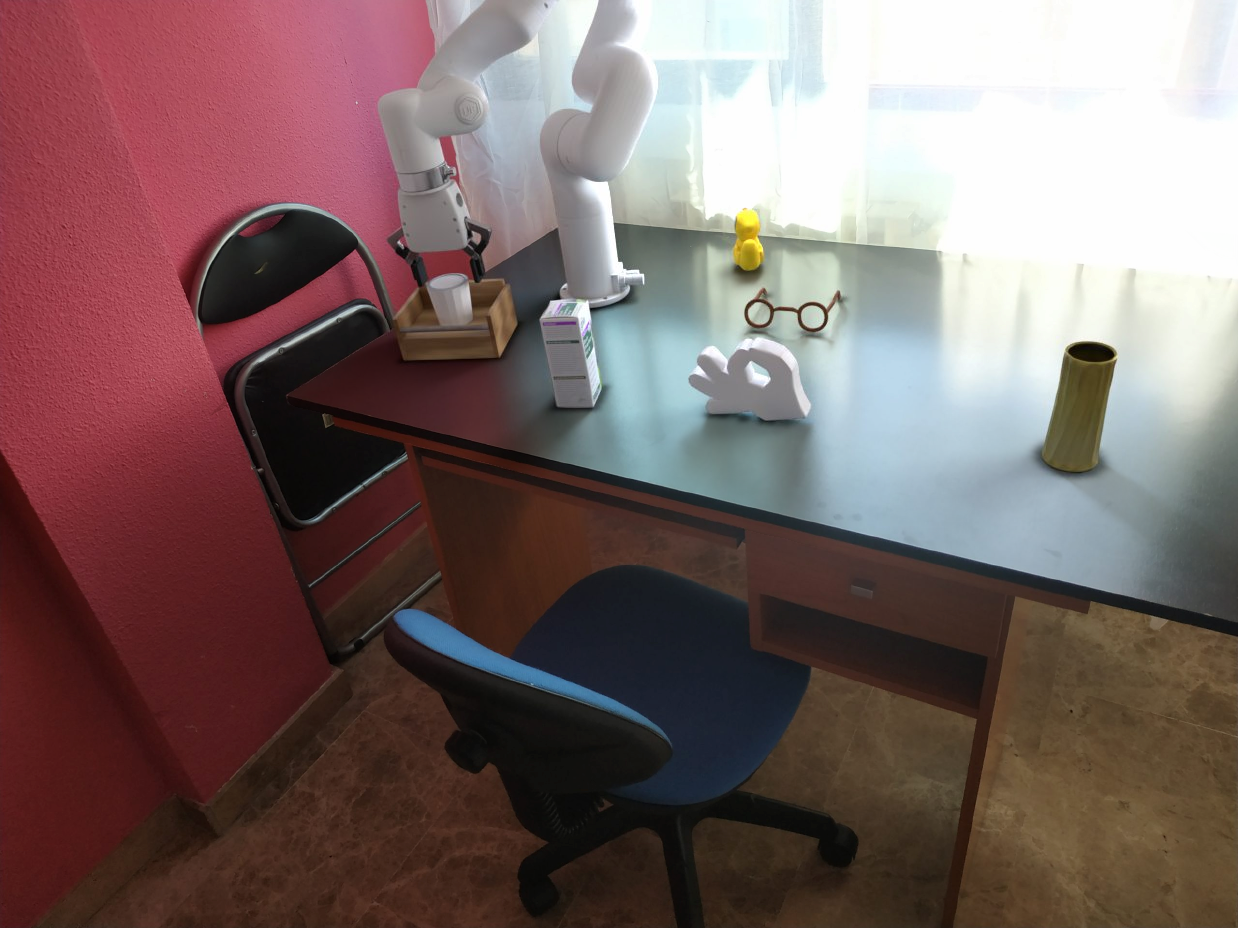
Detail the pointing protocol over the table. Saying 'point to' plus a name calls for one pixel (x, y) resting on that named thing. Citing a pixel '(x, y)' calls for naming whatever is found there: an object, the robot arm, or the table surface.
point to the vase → (1080, 407)
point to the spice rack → (473, 340)
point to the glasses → (799, 311)
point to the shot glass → (451, 299)
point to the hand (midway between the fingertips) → (451, 281)
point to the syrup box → (571, 353)
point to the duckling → (747, 240)
